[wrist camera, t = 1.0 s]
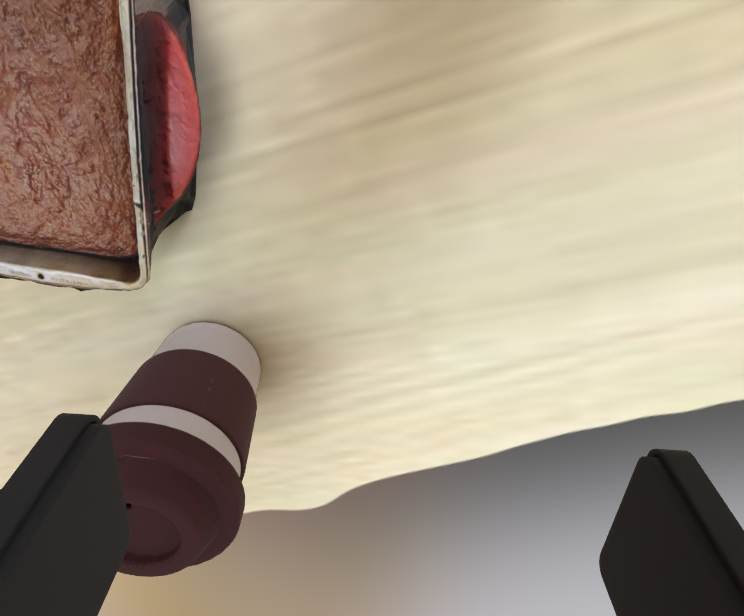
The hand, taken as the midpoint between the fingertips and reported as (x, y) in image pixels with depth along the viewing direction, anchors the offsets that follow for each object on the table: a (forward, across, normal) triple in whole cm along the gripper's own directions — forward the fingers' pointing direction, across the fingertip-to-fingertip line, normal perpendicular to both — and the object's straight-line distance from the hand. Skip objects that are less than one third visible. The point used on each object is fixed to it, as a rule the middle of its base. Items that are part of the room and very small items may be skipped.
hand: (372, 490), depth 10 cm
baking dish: (+27, +16, -2) cm, 31 cm away
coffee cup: (+27, +11, +17) cm, 33 cm away
